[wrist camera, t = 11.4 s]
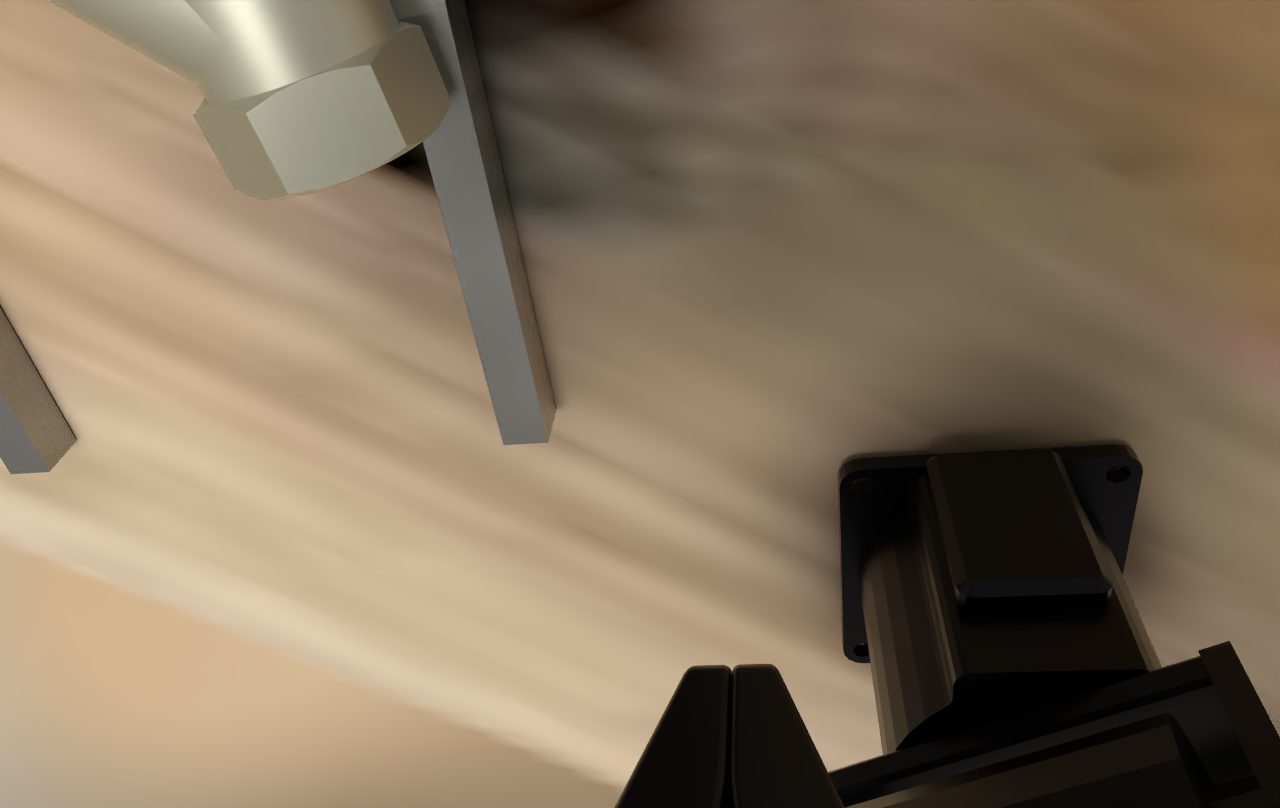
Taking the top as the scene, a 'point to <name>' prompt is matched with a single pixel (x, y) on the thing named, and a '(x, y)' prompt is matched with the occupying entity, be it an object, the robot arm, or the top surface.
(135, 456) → the top surface
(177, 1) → the pipe fitting
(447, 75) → the grey metal bars
